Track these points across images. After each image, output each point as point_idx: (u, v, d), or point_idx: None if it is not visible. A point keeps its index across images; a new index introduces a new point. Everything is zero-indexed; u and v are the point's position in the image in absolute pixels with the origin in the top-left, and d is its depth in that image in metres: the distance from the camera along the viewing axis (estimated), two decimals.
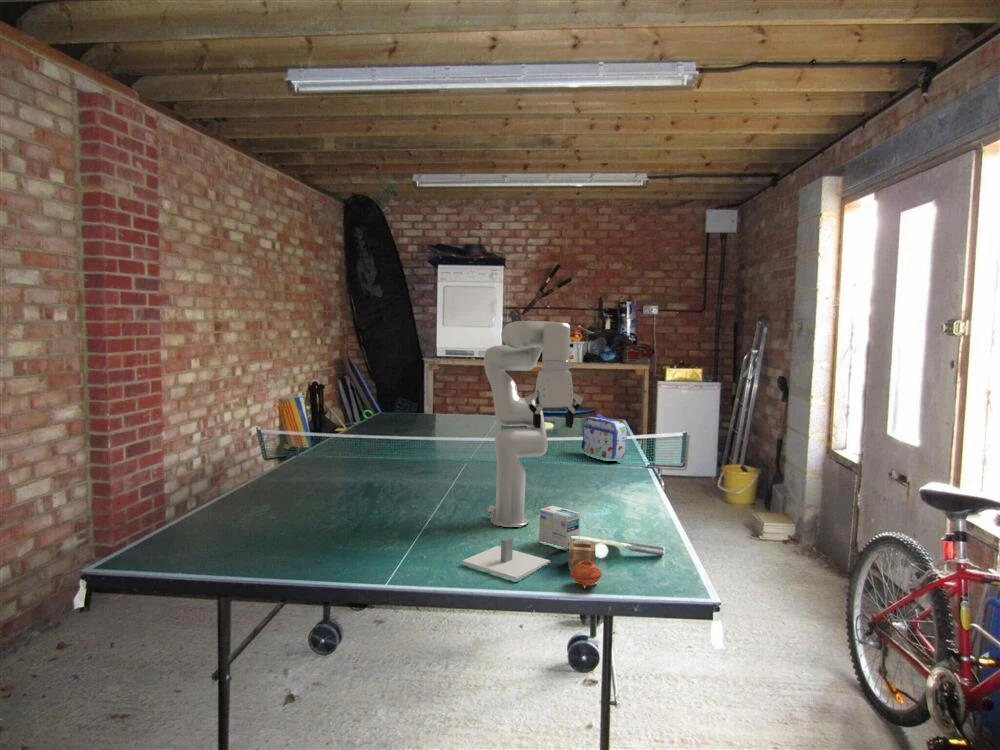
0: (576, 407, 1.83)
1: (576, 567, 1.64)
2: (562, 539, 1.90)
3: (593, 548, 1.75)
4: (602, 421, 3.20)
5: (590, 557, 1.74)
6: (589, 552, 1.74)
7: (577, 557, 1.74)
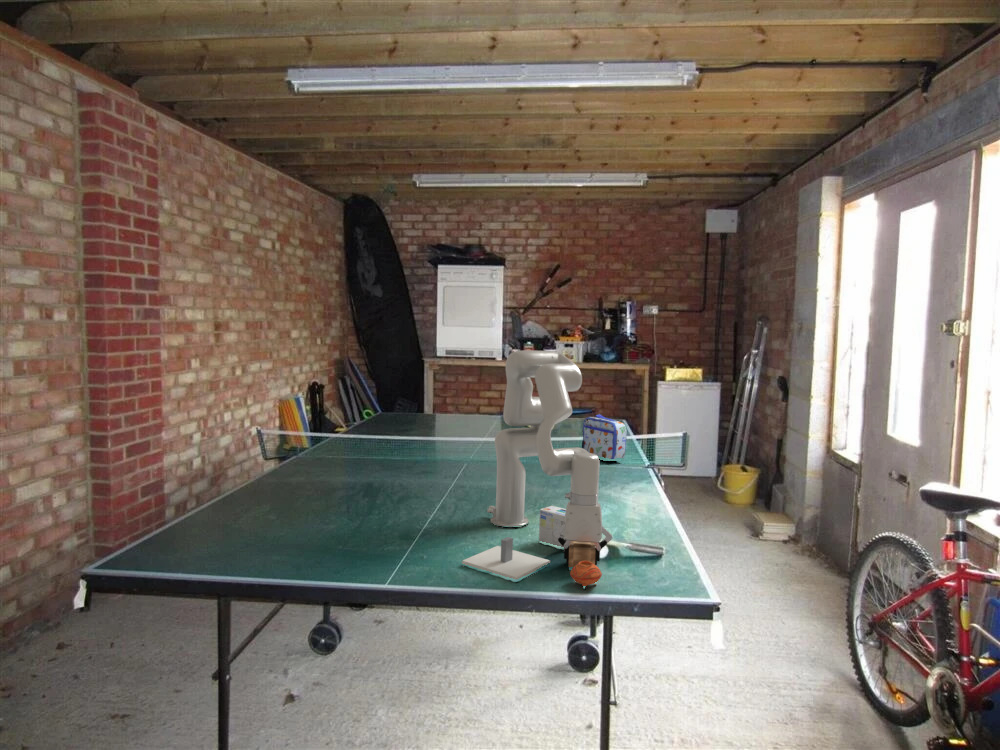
0: None
1: (576, 567, 1.64)
2: None
3: (593, 548, 1.75)
4: (602, 421, 3.20)
5: (590, 557, 1.74)
6: (589, 552, 1.74)
7: (577, 557, 1.74)
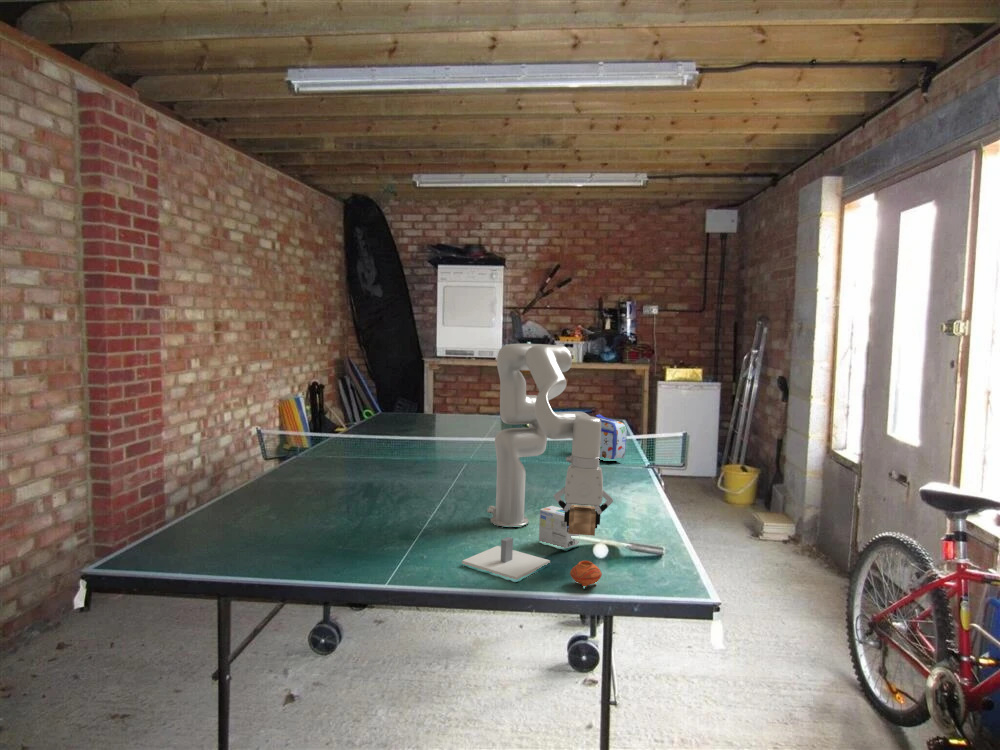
0: None
1: (576, 567, 1.64)
2: (562, 539, 1.90)
3: (593, 511, 1.75)
4: (602, 421, 3.20)
5: (590, 520, 1.73)
6: (589, 515, 1.73)
7: (577, 520, 1.74)
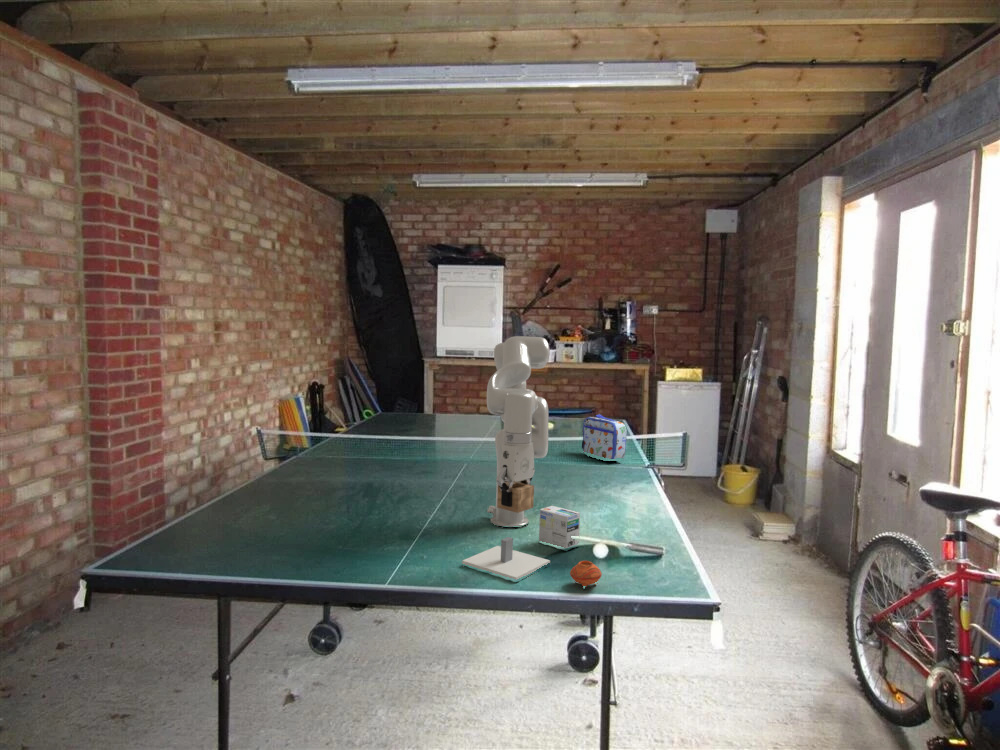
0: None
1: (576, 567, 1.64)
2: (562, 539, 1.90)
3: (527, 484, 1.77)
4: (602, 421, 3.20)
5: (531, 493, 1.75)
6: (530, 488, 1.75)
7: (523, 496, 1.72)
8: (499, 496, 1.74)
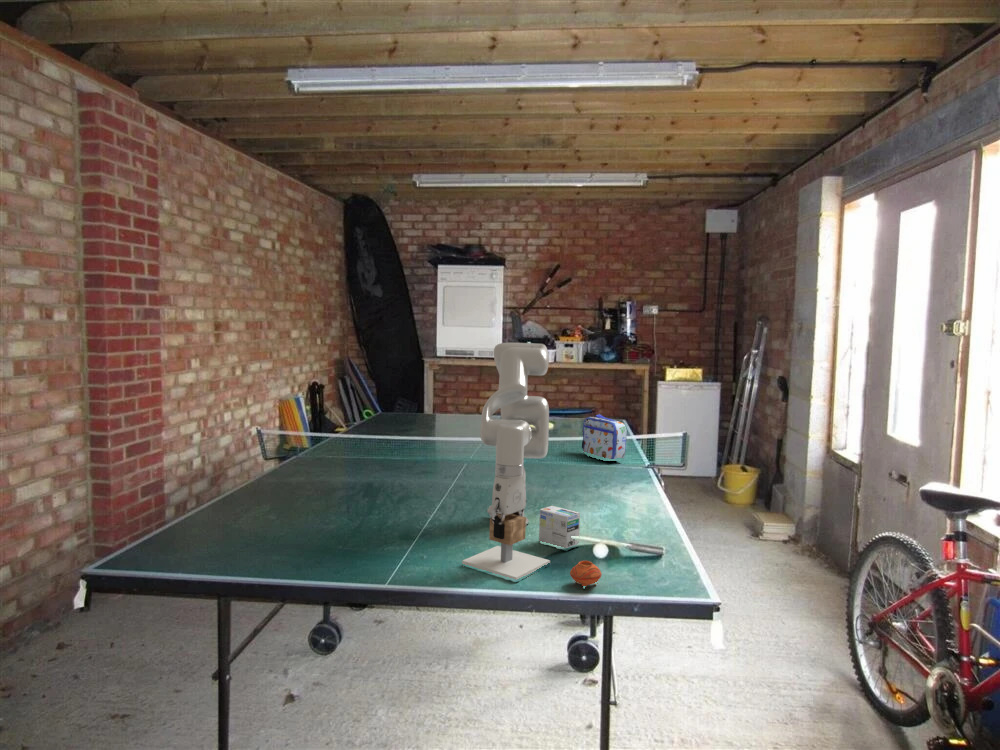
0: None
1: (576, 567, 1.64)
2: (562, 539, 1.90)
3: (519, 516, 1.77)
4: (602, 421, 3.20)
5: (523, 525, 1.76)
6: (522, 520, 1.75)
7: (515, 529, 1.73)
8: (491, 528, 1.75)
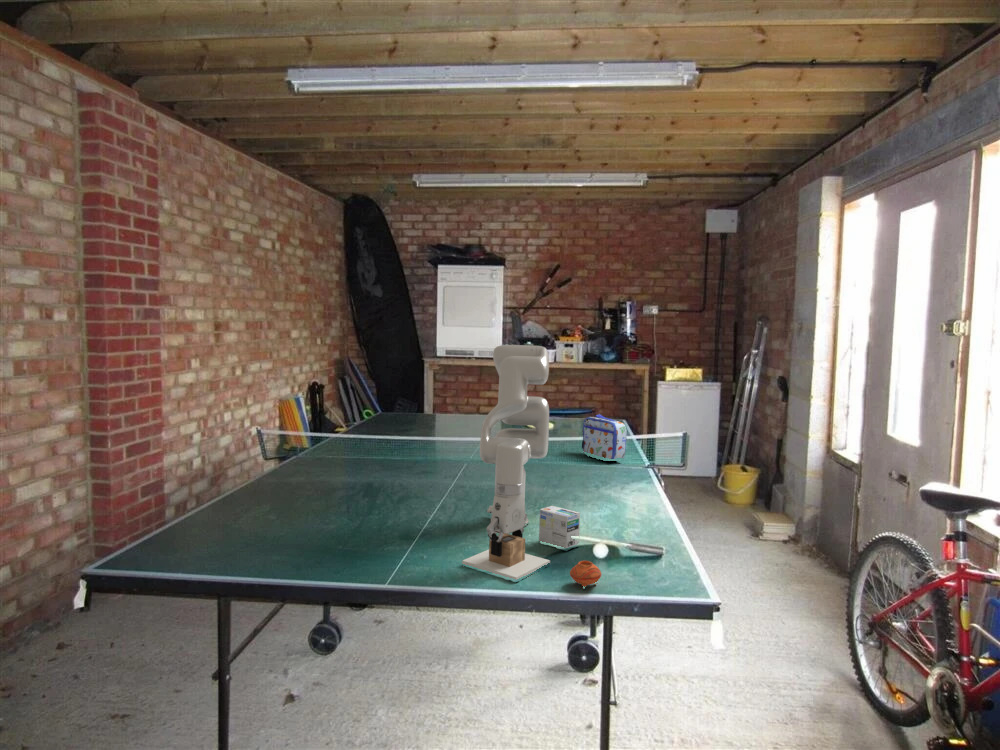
0: None
1: (576, 567, 1.64)
2: (562, 539, 1.90)
3: (519, 537, 1.78)
4: (602, 421, 3.20)
5: (522, 546, 1.76)
6: (522, 542, 1.76)
7: (515, 550, 1.74)
8: None
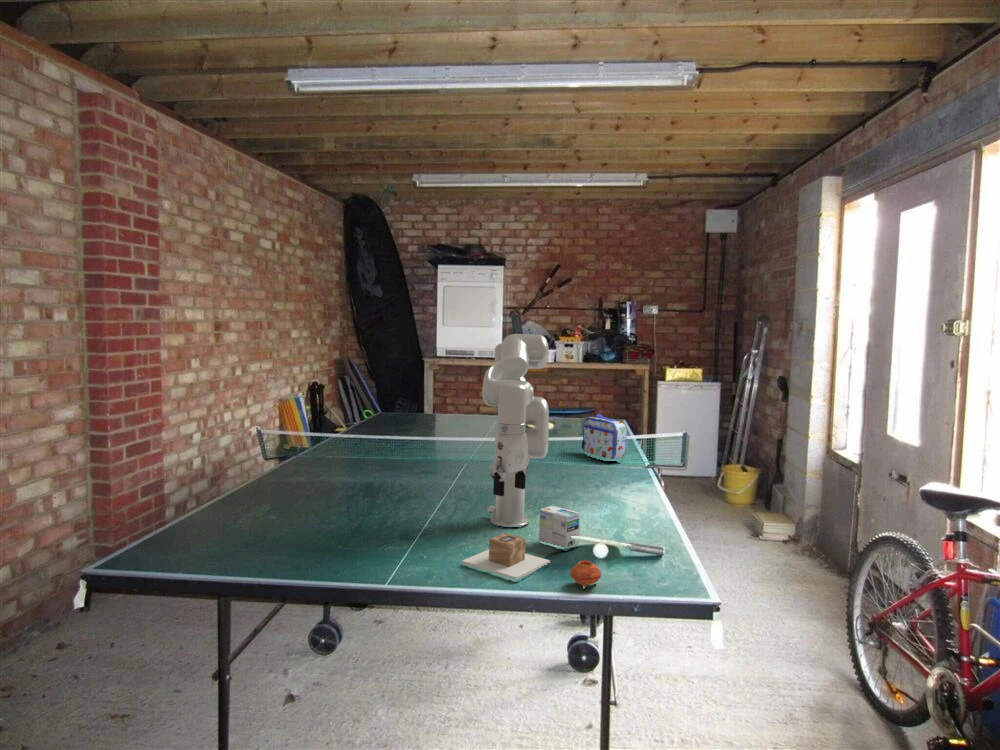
0: None
1: (576, 567, 1.64)
2: (562, 539, 1.90)
3: (519, 537, 1.78)
4: (602, 421, 3.20)
5: (522, 546, 1.76)
6: (522, 542, 1.76)
7: (515, 550, 1.74)
8: (491, 549, 1.75)
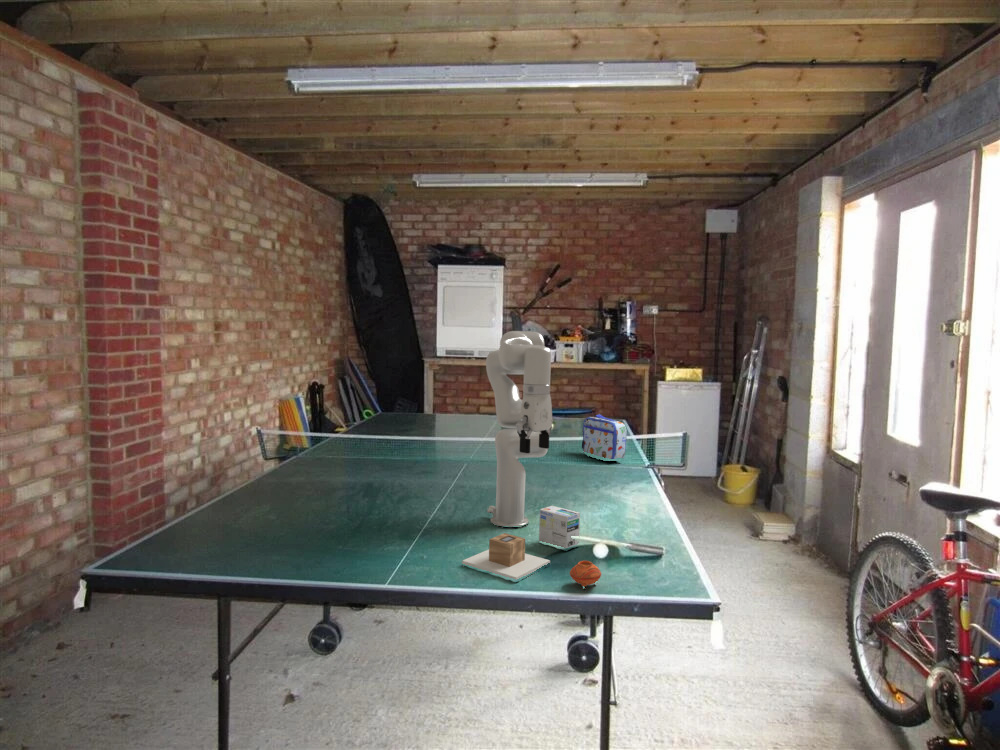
0: None
1: (576, 567, 1.64)
2: (562, 539, 1.90)
3: (519, 537, 1.78)
4: (602, 421, 3.20)
5: (522, 546, 1.76)
6: (522, 542, 1.76)
7: (515, 550, 1.74)
8: (491, 549, 1.75)
